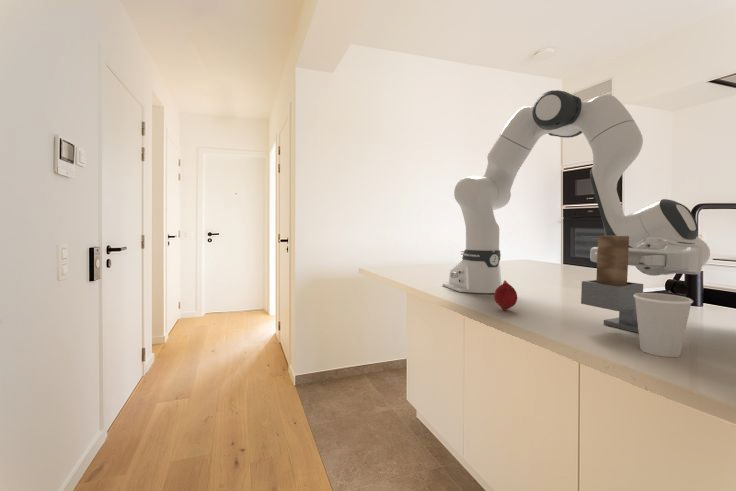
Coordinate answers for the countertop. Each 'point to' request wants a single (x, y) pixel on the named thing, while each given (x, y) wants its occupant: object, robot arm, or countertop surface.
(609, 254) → the rail post
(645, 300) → the dixie cup
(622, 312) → the box
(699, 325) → the countertop surface
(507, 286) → the onion
